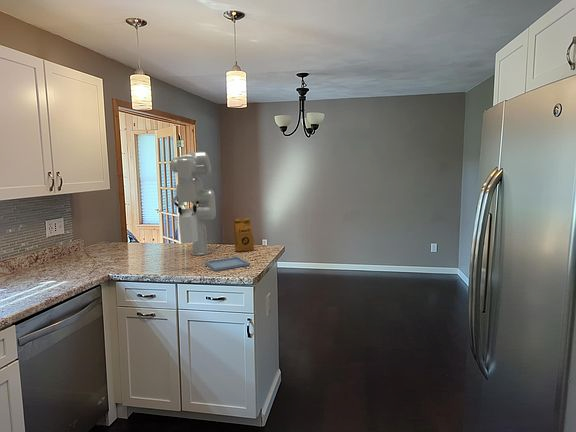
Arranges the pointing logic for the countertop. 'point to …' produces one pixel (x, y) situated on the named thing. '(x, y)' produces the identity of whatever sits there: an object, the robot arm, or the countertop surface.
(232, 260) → the tray
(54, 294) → the countertop surface
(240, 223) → the coffee package
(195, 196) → the robot arm
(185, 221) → the milk carton
